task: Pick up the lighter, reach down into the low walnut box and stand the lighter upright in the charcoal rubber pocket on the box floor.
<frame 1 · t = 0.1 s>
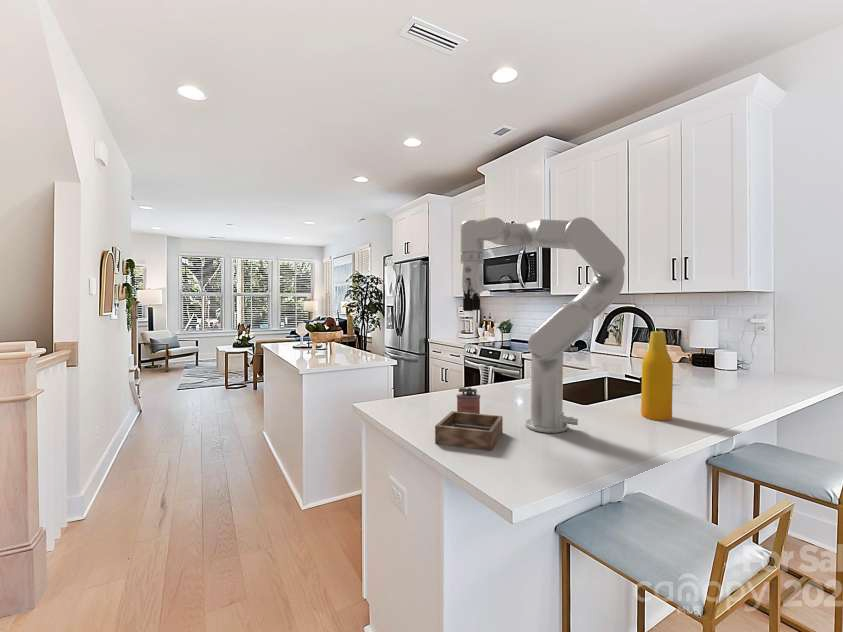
hand: (471, 310, 138), 37 cm above the countertop, tool pointing down, fingers open, 9 cm apart
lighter: (468, 417, 143), on the countertop
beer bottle: (656, 417, 141), on the countertop
walnut box: (470, 437, 121), on the countertop
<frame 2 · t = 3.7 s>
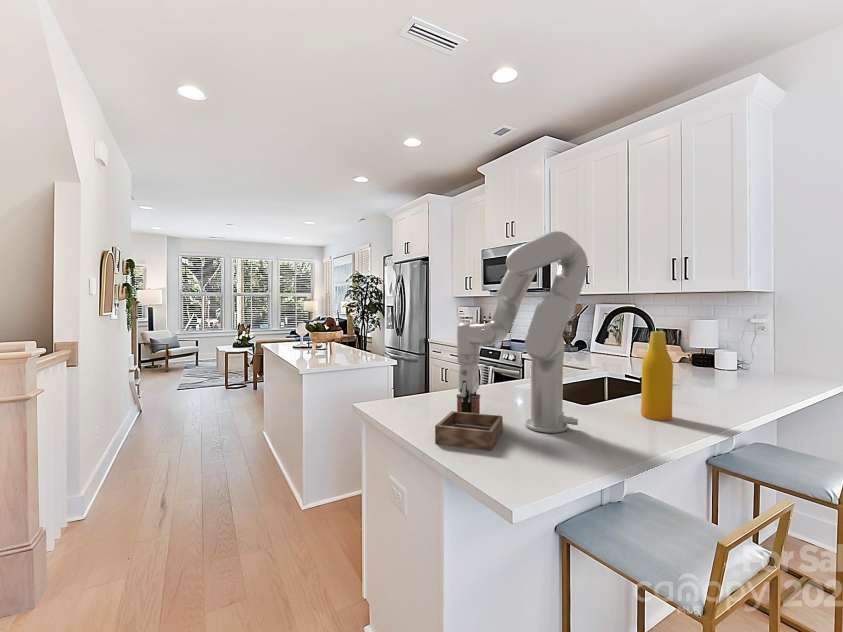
hand: (468, 411, 143), 2 cm above the countertop, tool pointing down, fingers closed on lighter, 3 cm apart
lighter: (468, 417, 143), on the countertop, touching gripper
everything else where it was.
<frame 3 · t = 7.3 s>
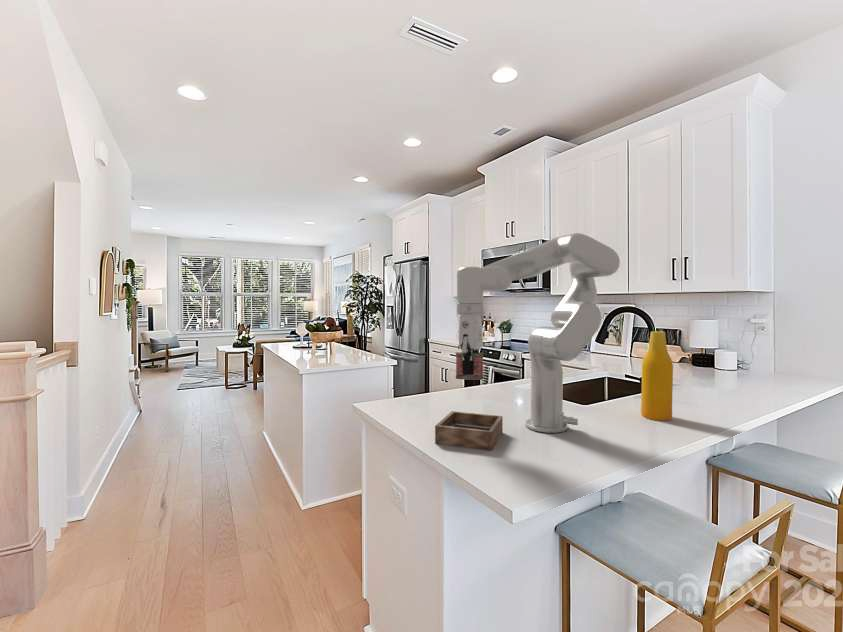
hand: (470, 372, 121), 19 cm above the countertop, tool pointing down, fingers closed on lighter, 3 cm apart
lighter: (469, 379, 121), point 17 cm above the countertop, touching gripper
everything else where it was.
when the fingers open (4 cm above the countertop, at t = 10.8 s): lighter drops 1 cm, resting on walnut box.
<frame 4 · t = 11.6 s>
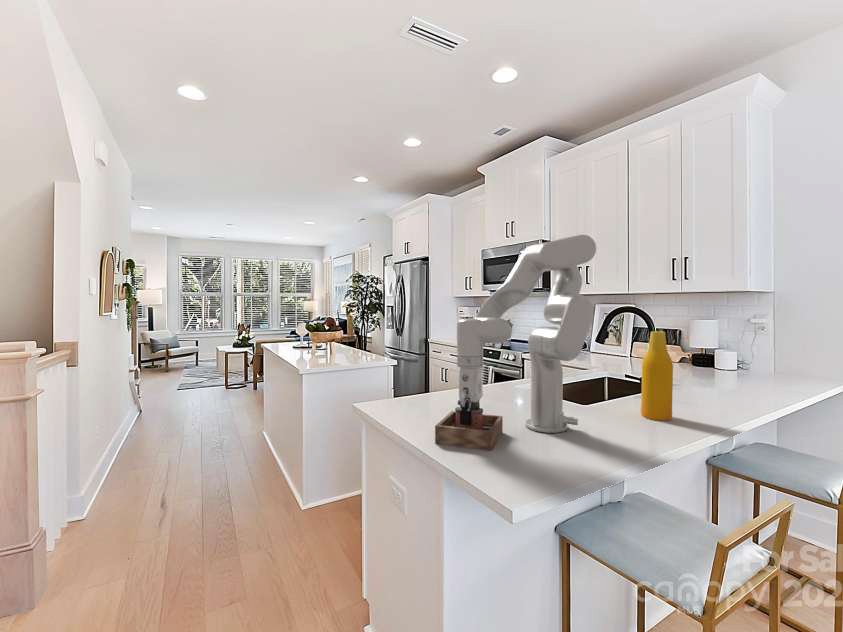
hand: (470, 419, 121), 5 cm above the countertop, tool pointing down, fingers open, 9 cm apart
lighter: (469, 434, 121), point 1 cm above the countertop, touching walnut box
everything else where it was.
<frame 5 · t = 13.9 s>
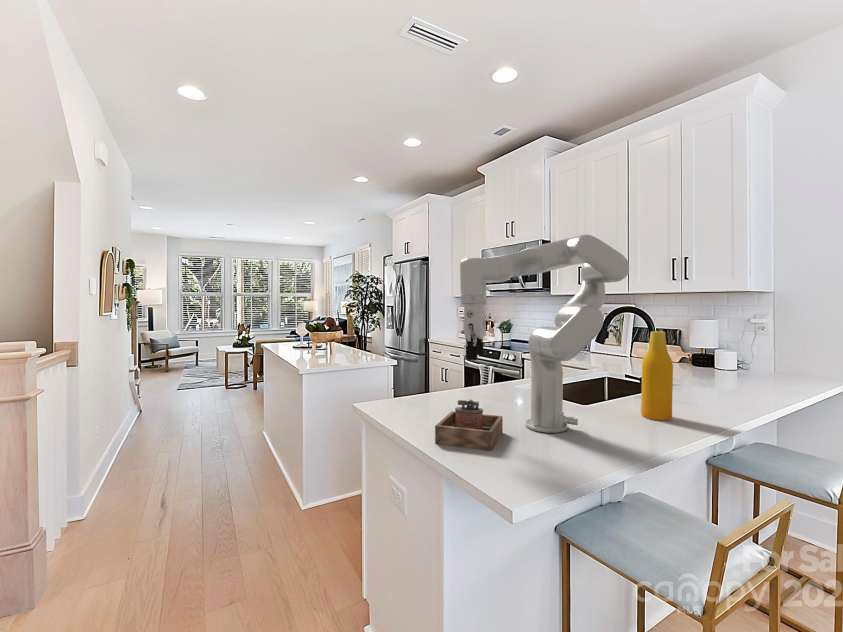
hand: (475, 357, 124), 23 cm above the countertop, tool pointing down, fingers open, 9 cm apart
nothing on the countertop moved.
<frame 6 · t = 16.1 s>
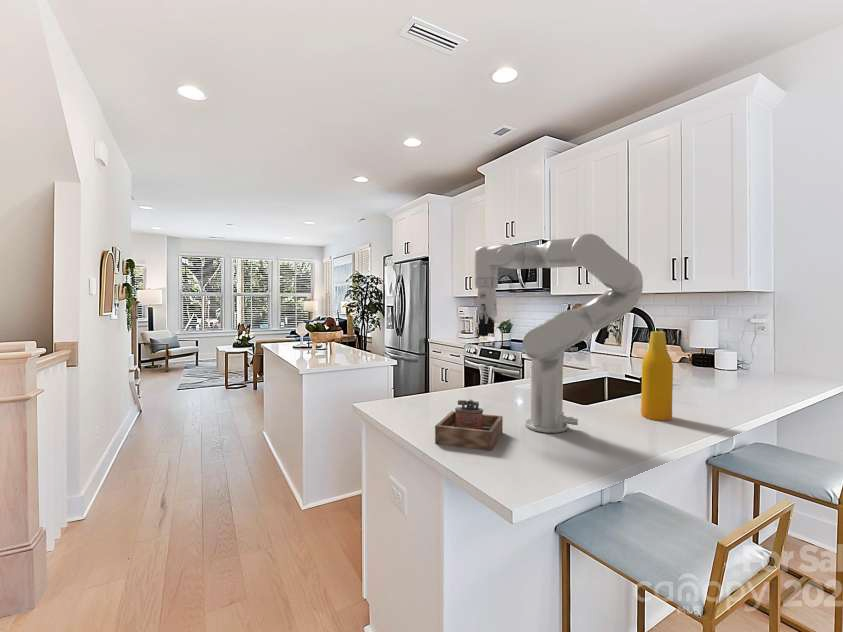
hand: (486, 334, 140), 28 cm above the countertop, tool pointing down, fingers open, 9 cm apart
nothing on the countertop moved.
at the end: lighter 0.6 cm off-centre on the walnut box, point 1.0 cm above the walnut box's base; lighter tilted 0°; the gripper is holding nothing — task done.
